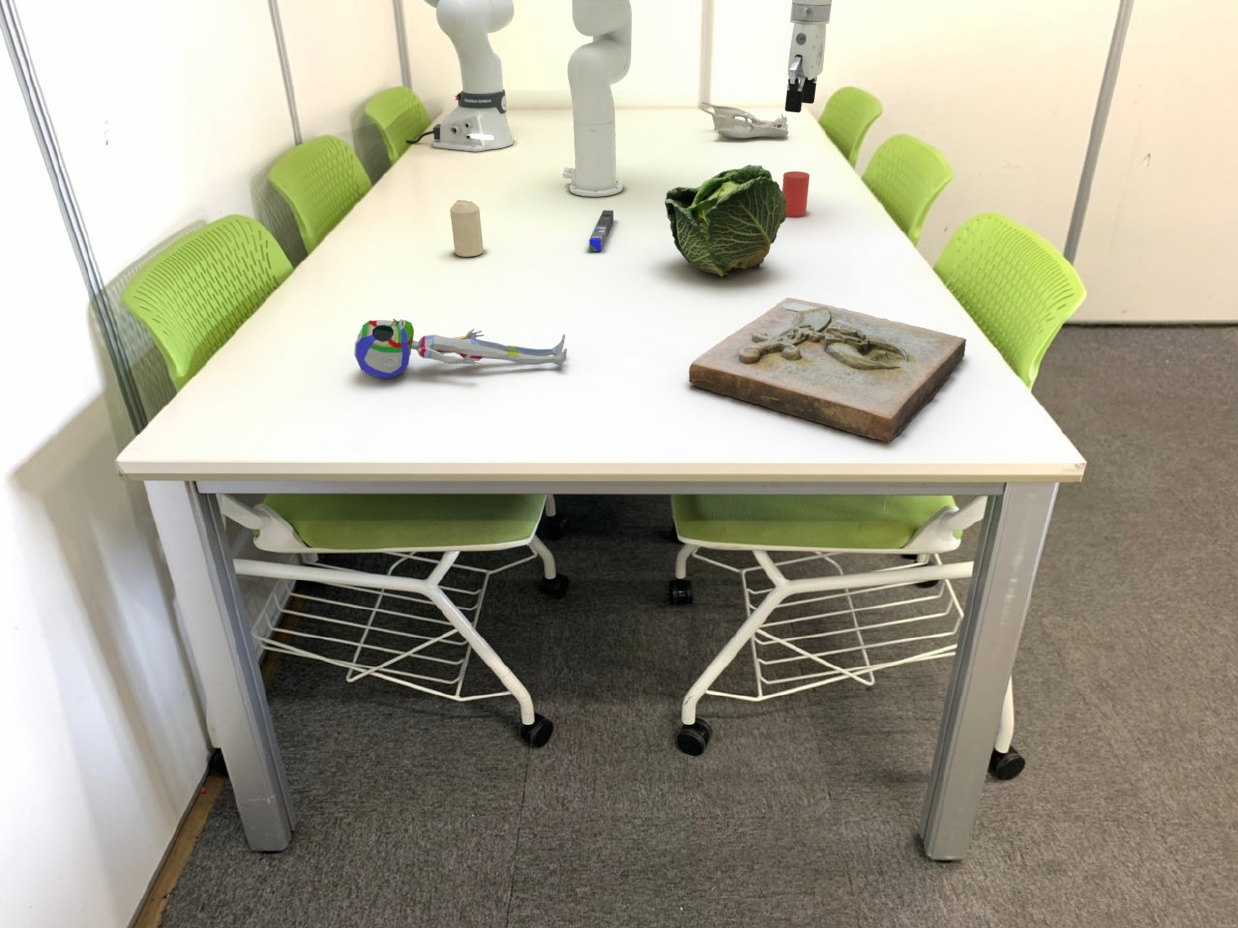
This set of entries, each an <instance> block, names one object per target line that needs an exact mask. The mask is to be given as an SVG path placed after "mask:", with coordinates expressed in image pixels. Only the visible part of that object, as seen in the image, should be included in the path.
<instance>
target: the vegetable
mask: <svg viewBox="0 0 1238 928" xmlns="http://www.w3.org/2000/svg"><path fill="white" fill-rule="evenodd" d="M665 196H666V197H665V199H664V205H665V208H666V209H665V210H666V218H667V219H668V221H669V222H670V224H669V228H670V231H671V236H672V238H673V239H674V240H673V243H674V245H675V247H676V249H677V250H678V252H680V255H681V256H682V257H683V258H684V259H685V261H686V262H687V263H688V264H689V263H691V264H692V265H693V266H694V267H695V268H696V269H699V270H700V271H702V272H704V273H708V274H714V275H715V274H716V275H718V276H719V277H721V278H723V277H724V276H730V274H729V273H728V272H729V271H732V270H734V269H740V268H742V269H747V268H748V267H754V268H756V267H757V268H760V266H761V264H763V263H764V261H765V258H766V257H767V256H768V255H769V253H770V250H771V245H772V244H774V243H775V241H776V239H777V236H778V235H777V234H778V231H779V229H780V227H781V225H782V224H783V223H784V222H786V218H787V216H785V214H786V213H787V212H786V203H787V201H786V199H785V196H784V193H783V192H782V189H781V188H780V184H779V183H778V181H777V180H774V179H773V176H772V173H771V171H770V170H768V169H765V168H763V165H755V164H754V165H751V164H748V165H745V166H743V167H742V168H732V169H729V170H723V171H721V172H720V173H718V174H716V175H714V176H713V177H711V178H709V179H707V180H704V181H703V182H702V184H701V185H700V186H698V187H684V186H677V187H674V188H672V189H670V190H668V191H667V192H666V194H665Z"/></svg>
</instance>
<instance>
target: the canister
mask: <svg viewBox="0 0 1238 928" xmlns="http://www.w3.org/2000/svg"><path fill="white" fill-rule="evenodd" d="M810 177H811V176H810V174H809V173H808V172H805V171H797V170H796V171H795V170H794V171H786V172H784V173H783V176H782V187H781V188H782V189H781V191H782V192H783V193H784V196H785V199H786V201H787V203H786V212H787V213H786V214H785V216H786V217H789V218H801V217H804V216H806V214H807V205H808V198H809V197H808V196H809V185H810Z"/></svg>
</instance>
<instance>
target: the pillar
mask: <svg viewBox="0 0 1238 928" xmlns="http://www.w3.org/2000/svg"><path fill="white" fill-rule="evenodd" d="M614 216H615V215H614V210H613V209H612V210H611V209H602V212H601V214H600V216H599V219H598V221H597V222H596V225H595V227H594V229H593V231H592V234H591V236H590V237H589V241H588V243H589V244H588V245H589V246H588V247H589V248H588V250H589V252H601V251H602V249H603V247H604V245H605V242H606V239H607V237H608V235H609V232H610V231H611V228H612V226H613V223H614Z"/></svg>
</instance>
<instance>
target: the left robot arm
mask: <svg viewBox="0 0 1238 928" xmlns="http://www.w3.org/2000/svg"><path fill="white" fill-rule="evenodd" d="M423 1H424V2H425V3H427V4H428V5H429V6H430V7H433V8H435V15H436V16H435V17H436V21H437V25H438V26H439V29H440V30H441V31H442V32H443V33H444V34H445V35H446V36H447V37H448V38H449V39H450V41H451V43H452V45H453V48H454V50H455V52H456V55H457V58H458V63H459V69H460V77H461V85H462V90H461V91H460V92H458V93H457V94H456V95H455V96H454V97H455V99H454V100H455V101H457V106H456V107H455V108H454V109H453V110H452V111H451V112H450V113H449V114H448V115H446V117H445V118H444V119H442V121H441V123H437V124H435V126H433V127H432V130H430V131H426V132H424V133H421V134H420V135H419V136H418V138H417V139H415V140H410V139H406V140H405V143H406V144H418V143H419V142H420V141H421V140H422V139H423V138H424V137H426V136H428V135H429V136H430V135H433V139H434V140H433V141H432V147H433V148H436V149H437V148H438V149H446V150H455V151H465V152H474V153H475V152H476V153H478V152H483V151H489V150H497V149H502V148H507V147H509V146H511V145H513V144H514V139H513V137H512V135H511V130H510V125H509V122H508V117H507V106H508V105H507V97H506V90H505V89H504V79H503V68H502V60H501V57H500V56H499V55H498V54H497V53H496V52H494V50H493V48H492V46H491V43H490V40H489V36H488V35H489V34H493V33H496V32H500V31H501V30H502V29H504V28H506V27H507V26H508V25H510V24H511V22H512V20H513V18H514V14H515V6H514V2H513V0H423Z"/></svg>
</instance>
